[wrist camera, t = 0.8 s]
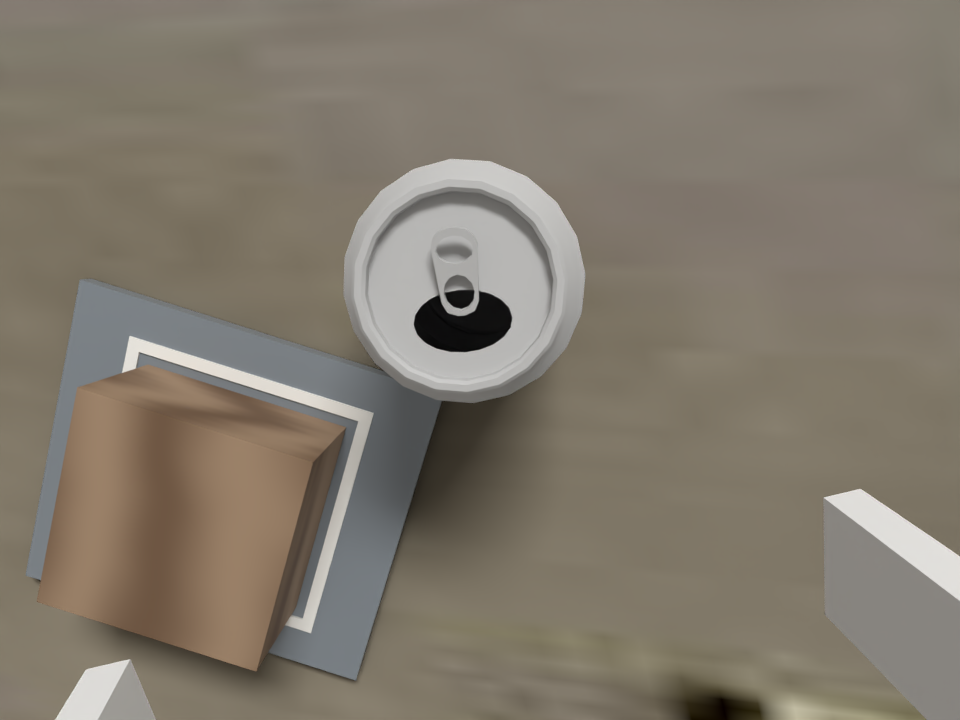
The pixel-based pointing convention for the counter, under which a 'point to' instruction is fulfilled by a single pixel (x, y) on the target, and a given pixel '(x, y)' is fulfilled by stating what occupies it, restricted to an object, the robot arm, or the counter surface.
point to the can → (464, 280)
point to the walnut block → (187, 512)
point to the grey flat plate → (290, 384)
